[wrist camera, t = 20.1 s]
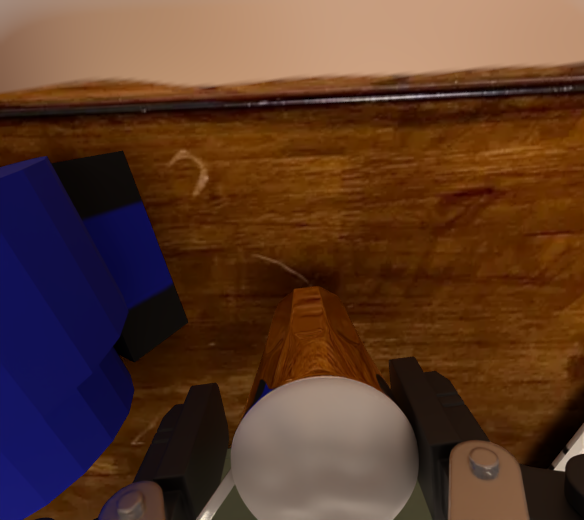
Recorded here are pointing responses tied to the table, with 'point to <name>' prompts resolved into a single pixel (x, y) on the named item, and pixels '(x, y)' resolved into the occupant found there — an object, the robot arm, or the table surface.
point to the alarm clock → (72, 318)
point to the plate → (569, 450)
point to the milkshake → (319, 424)
